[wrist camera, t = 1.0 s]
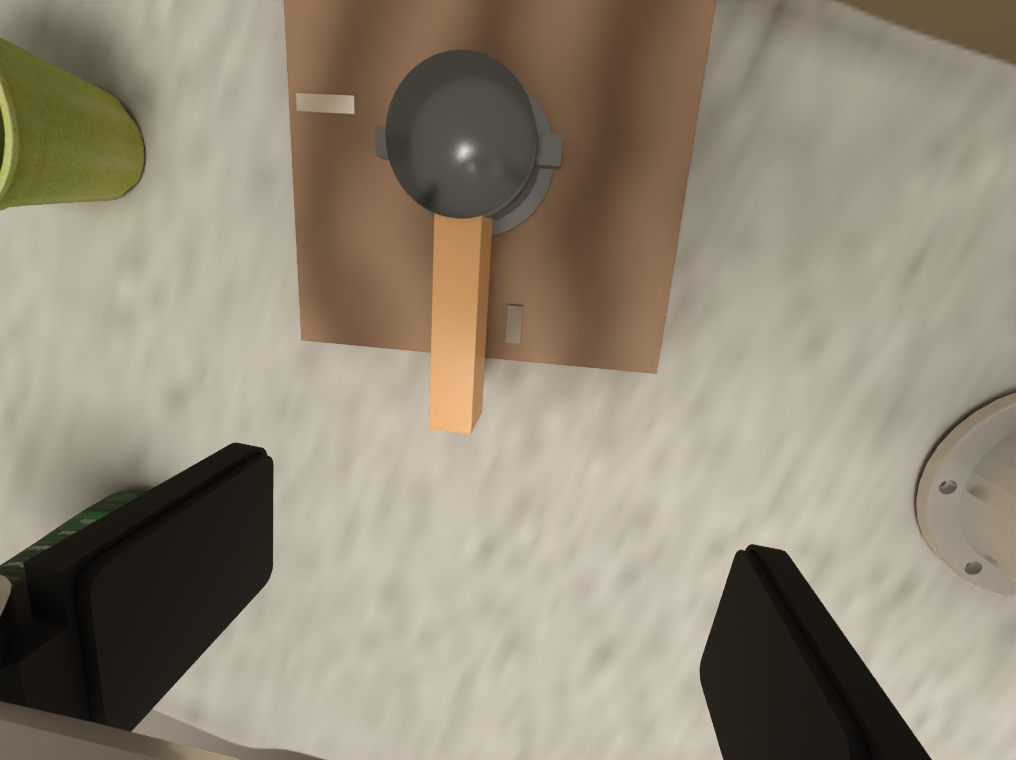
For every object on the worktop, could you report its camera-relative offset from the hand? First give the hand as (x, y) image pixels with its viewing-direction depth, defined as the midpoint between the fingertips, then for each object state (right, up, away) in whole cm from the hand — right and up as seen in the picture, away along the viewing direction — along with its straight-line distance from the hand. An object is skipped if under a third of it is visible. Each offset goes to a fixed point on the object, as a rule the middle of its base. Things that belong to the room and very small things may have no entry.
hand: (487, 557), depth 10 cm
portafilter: (-1, +10, +14) cm, 17 cm away
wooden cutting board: (-1, +15, +16) cm, 22 cm away
